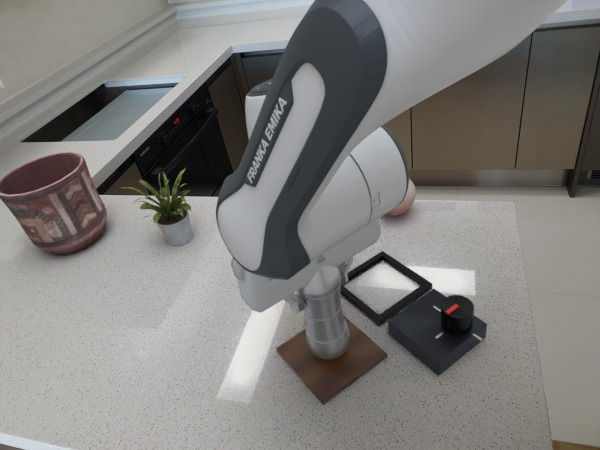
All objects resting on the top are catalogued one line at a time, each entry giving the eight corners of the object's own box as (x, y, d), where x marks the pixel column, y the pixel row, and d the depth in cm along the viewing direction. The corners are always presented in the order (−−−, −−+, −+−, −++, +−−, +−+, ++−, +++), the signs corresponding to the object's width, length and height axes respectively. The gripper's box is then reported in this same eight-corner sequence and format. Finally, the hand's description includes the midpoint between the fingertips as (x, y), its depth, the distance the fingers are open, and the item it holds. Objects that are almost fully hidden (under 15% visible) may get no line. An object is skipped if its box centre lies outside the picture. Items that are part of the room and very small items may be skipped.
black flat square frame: (432, 288, 77) (432, 283, 76) (379, 326, 72) (378, 321, 72) (382, 255, 86) (382, 250, 85) (332, 287, 81) (331, 282, 80)
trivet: (387, 356, 68) (387, 353, 67) (323, 405, 63) (322, 401, 63) (336, 311, 76) (336, 308, 76) (276, 351, 72) (275, 348, 71)
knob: (454, 306, 69) (455, 288, 67) (479, 323, 66) (481, 305, 64) (434, 322, 68) (434, 304, 65) (458, 339, 64) (459, 321, 62)
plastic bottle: (351, 328, 71) (337, 225, 59) (351, 365, 65) (335, 260, 54) (310, 330, 72) (288, 229, 60) (306, 366, 67) (282, 263, 55)
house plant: (138, 269, 94) (106, 203, 84) (146, 230, 105) (118, 168, 95) (207, 254, 94) (183, 187, 85) (207, 216, 106) (186, 153, 96)
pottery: (99, 259, 99) (60, 189, 88) (24, 268, 101) (-23, 200, 90) (126, 212, 113) (95, 146, 102) (59, 220, 115) (22, 157, 104)
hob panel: (499, 337, 67) (501, 323, 65) (446, 382, 63) (446, 368, 61) (438, 297, 75) (439, 283, 73) (388, 333, 71) (387, 320, 69)
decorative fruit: (423, 220, 92) (423, 177, 86) (385, 230, 91) (382, 188, 85) (404, 196, 100) (403, 156, 94) (368, 206, 99) (365, 165, 93)
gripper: (241, 267, 48) (267, 351, 56) (386, 186, 56) (391, 270, 64) (214, 240, 52) (242, 322, 60) (352, 169, 60) (360, 249, 68)
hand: (319, 295), depth 62 cm, fingers closed on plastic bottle, 6 cm apart
